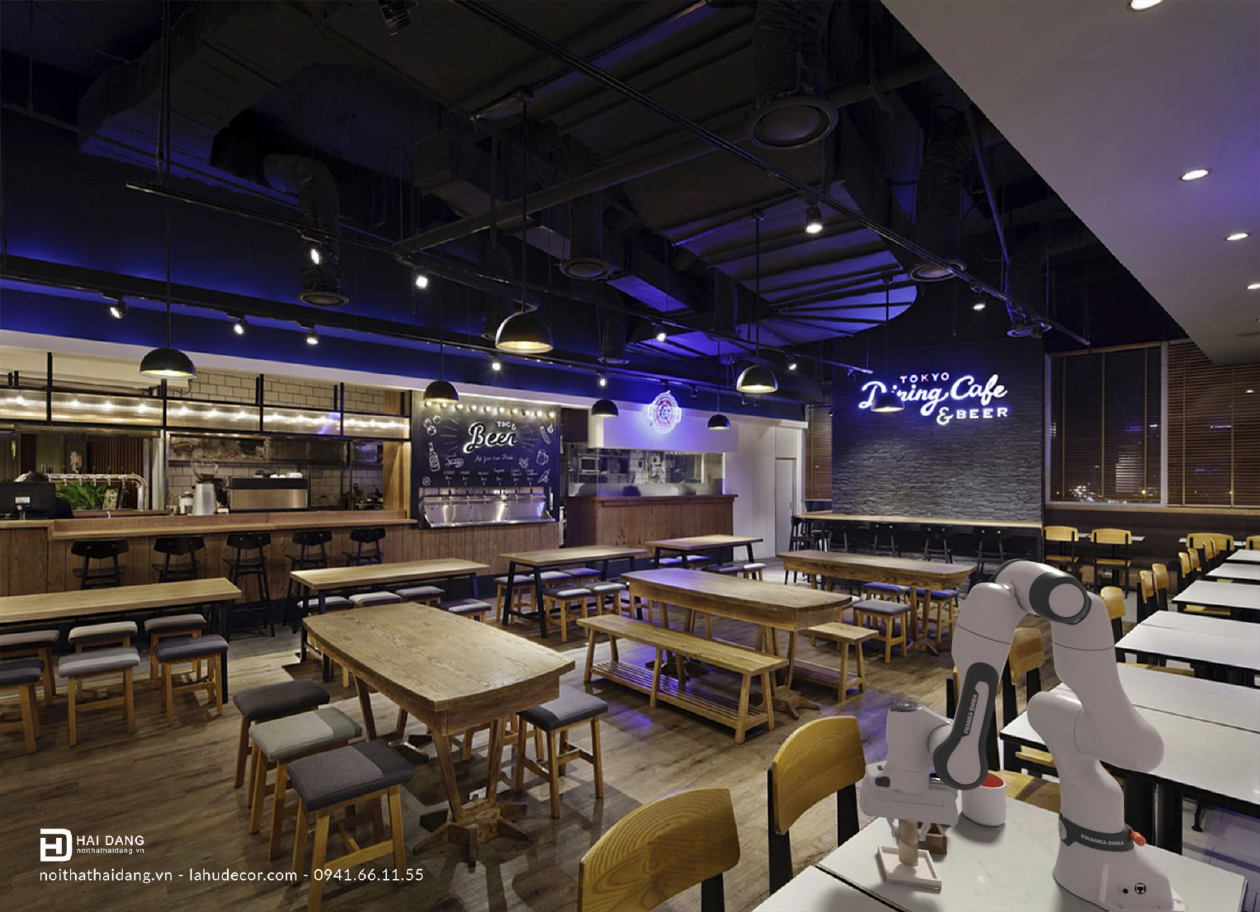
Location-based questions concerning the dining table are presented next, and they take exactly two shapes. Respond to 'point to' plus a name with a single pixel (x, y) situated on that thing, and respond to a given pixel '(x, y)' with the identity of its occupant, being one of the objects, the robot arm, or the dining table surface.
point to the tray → (909, 869)
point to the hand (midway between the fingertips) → (908, 837)
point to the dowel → (908, 842)
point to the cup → (986, 802)
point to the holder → (934, 839)
